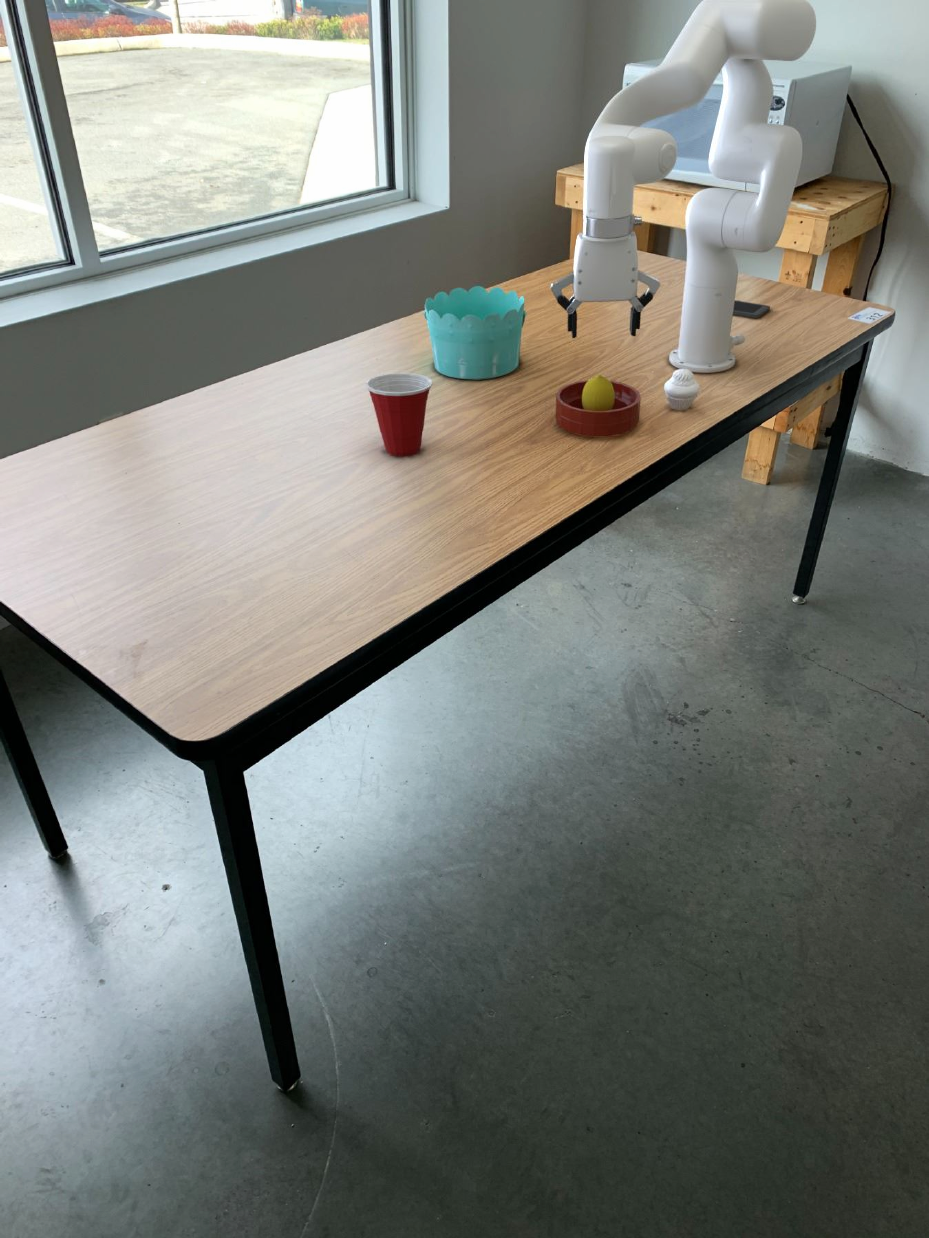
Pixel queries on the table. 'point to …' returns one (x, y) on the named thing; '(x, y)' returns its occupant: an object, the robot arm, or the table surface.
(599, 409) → the lemon
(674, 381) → the muffin
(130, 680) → the table surface
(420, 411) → the plastic cup
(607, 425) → the bowl
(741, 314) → the cell phone
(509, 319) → the basket
